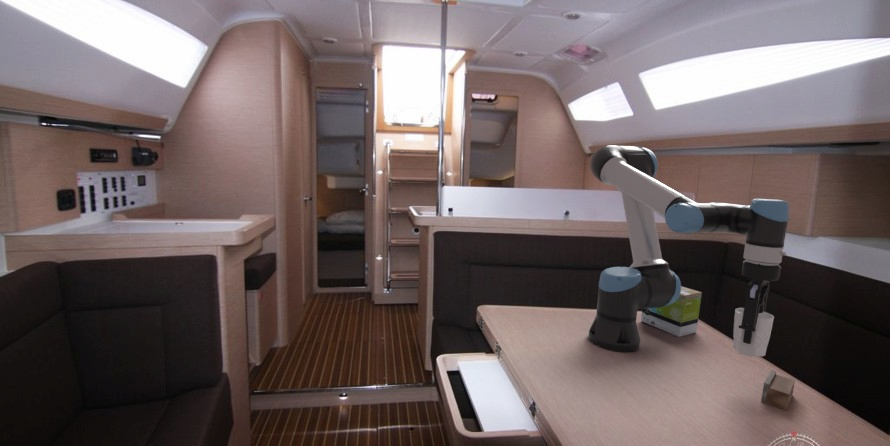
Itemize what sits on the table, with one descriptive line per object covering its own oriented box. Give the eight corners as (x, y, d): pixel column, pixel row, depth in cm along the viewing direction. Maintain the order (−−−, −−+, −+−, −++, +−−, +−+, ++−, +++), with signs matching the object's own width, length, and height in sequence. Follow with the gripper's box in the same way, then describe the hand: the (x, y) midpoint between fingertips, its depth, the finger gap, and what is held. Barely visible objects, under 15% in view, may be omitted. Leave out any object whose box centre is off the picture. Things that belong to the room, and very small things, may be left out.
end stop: (761, 401, 101) (764, 382, 100) (768, 387, 108) (771, 369, 107) (786, 410, 98) (789, 391, 97) (792, 395, 105) (795, 377, 104)
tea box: (639, 321, 152) (643, 282, 149) (657, 318, 156) (661, 279, 154) (679, 337, 138) (684, 294, 136) (697, 333, 143) (703, 291, 141)
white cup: (775, 359, 102) (781, 320, 100) (738, 355, 103) (744, 316, 102) (758, 346, 109) (763, 309, 108) (724, 342, 111) (729, 306, 110)
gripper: (773, 271, 93) (759, 368, 97) (787, 259, 108) (774, 344, 111) (733, 264, 99) (721, 356, 102) (751, 254, 113) (740, 335, 116)
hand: (749, 350), depth 106 cm, fingers closed on white cup, 7 cm apart
